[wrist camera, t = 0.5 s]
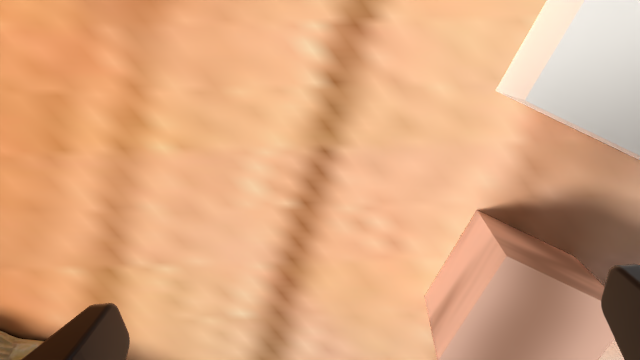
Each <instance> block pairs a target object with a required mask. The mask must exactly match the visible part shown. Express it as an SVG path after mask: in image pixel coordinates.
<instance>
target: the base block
mask: <svg viewBox="0 0 640 360" xmlns="http://www.w3.org/2000/svg"><path fill="white" fill-rule="evenodd" d="M495 91H497V92H499V93H501V94H503V95H505V96H507V97H509V98H511V99H513V100H515V101H517V102H520V103H522V104H524V105H526V106H528V107H530V108H532V109H534V110H536V111H538V112H540V113H543V114H545V115H547V116H549V117H551V118H553V119H555V120H557V121H559V122H561V123H563V124H565V125H568V126H570V127H572V128H574V129H576V130H578V131H580V132H582V133H584V134H586V135H588V136H591V137H593V138H595V139H597V140H599V141H601V142H603V143H605V144H607V145H609V146H611V147H613V148H616V149H618V150H620V151H622V152H624V153H626V154H628V155H630V156H632V157H634V158H636V159H639V160H640V0H547V1H546V3H545V4H544V6H543V8H542V10H541V11H540V13H539V15H538V17H537V18H536V20H535V22H534V24H533V25H532V27H531V29H530V31H529V32H528V34H527V36H526V38H525V39H524V41H523V43H522V45H521V46H520V48H519V50H518V52H517V53H516V55H515V57H514V59H513V60H512V62H511V64H510V66H509V67H508V69H507V71H506V73H505V74H504V76H503V78H502V80H501V81H500V83H499V85H498V87H497V88H496V90H495Z"/></svg>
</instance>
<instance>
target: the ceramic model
mask: <svg viewBox="0 0 640 360" xmlns="http://www.w3.org/2000/svg"><path fill="white" fill-rule="evenodd" d="M43 342H44V341H38V340H28V339H20V338H16V337H14V336H11V335H8V334H7V333H5V332H2V331H0V360H21V359H23V358H24V357H25V356H26V355H28V354H29V353H30V352H31V351H33V350H34V349H35V348H37V347H38V346H39V345H40V344H42V343H43Z"/></svg>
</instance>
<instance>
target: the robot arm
mask: <svg viewBox="0 0 640 360" xmlns="http://www.w3.org/2000/svg"><path fill="white" fill-rule="evenodd" d="M601 308H602V312H603V314H604V316H605V319H606V321H607V323H608V325H609V327H610V329H611V332H612V334H613V336H614V338H615V340H616V342H617V344H618V347H619V349H620V351H621V353H622V355H623V357H624V359H625V360H640V265H637V264H630V265H617V266H614V267H612V268H611V269H610V270H609V273H608V277H607V280H606V284H605V287H604V291H603V294H602V298H601ZM129 342H130V341H129V333H128V331H127V328H126V326H125V324H124V321H123V319H122V317H121V314H120V312H119V310H118V308H117V306H116V305H114V304H112V303H106V304H94V305H91V306H89V307H88V308H86V309H85V310H84V311H83V312H81V313H80V314H79V315H77V316H76V317H75V318H74V319H72V320H71V321H70V322H68V323H67V324H66V325H65V326H63V327H62V328H61V329H60V330H58V331H57V332H56V333H54V334H53V335H52V336H51V337H49V338H48V339H47V340H45V341H44V342H43V343H42V344H40V345H39V346H38V347H37V348H35V349H34V350H33V351H31V352H30V353H29V354H28V355H26V356H25V357H24V358H23V359H21V360H126V357H127V353H128V349H129Z"/></svg>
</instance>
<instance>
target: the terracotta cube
mask: <svg viewBox="0 0 640 360" xmlns="http://www.w3.org/2000/svg"><path fill="white" fill-rule="evenodd" d="M603 291H604V286H603V285H602V284H601V283H600V282H599V281H598V280H597V279H596V278H595V277H594V276H593V275H592V274H591V273H590V272H589V271H588V270H587V269H586V268H585V267H584V266H583V265H582V264H581V262H580V261H579V260H578V259H577V258H576V257H575V256H572V255H570V254H568V253H566V252H564V251H562V250H560V249H558V248H556V247H554V246H551V245H549V244H547V243H545V242H543V241H541V240H539V239H537V238H535V237H533V236H530V235H528V234H526V233H524V232H522V231H520V230H518V229H516V228H514V227H512V226H509V225H507V224H505V223H503V222H501V221H499V220H497V219H495V218H493V217H491V216H488V215H486V214H484V213H482V212H480V211H478V210H476V212H475V214H474V215H473V217H472V219H471V220H470V222H469V224H468V225H467V227H466V228H465V230H464V232H463V233H462V235H461V237H460V238H459V240H458V242H457V243H456V245H455V247H454V248H453V250H452V251H451V253H450V255H449V256H448V258H447V260H446V261H445V263H444V265H443V266H442V268H441V269H440V271H439V273H438V274H437V276H436V278H435V279H434V281H433V283H432V284H431V286H430V287H429V289H428V291H427V292H426V294H425V296H424V297H425V302H426V306H427V311H428V316H429V321H430V326H431V331H432V336H433V341H434V345H435V350H436V355H437V360H598V359H599V358H600V357H601V356H602V354H603V353H604V352H605V350H606V349H607V348H608V347H609V345H610V344H611V343H612V342H613V340H614V339H615V338H614V336H613V334H612V332H611V329H610V327H609V325H608V323H607V321H606V319H605V316H604V314H603V312H602V308H601V298H602V294H603Z"/></svg>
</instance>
